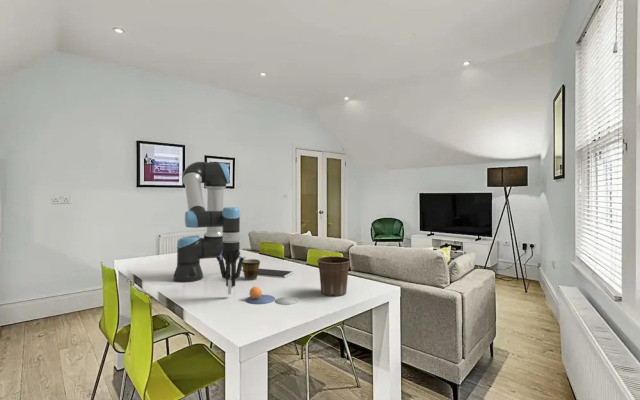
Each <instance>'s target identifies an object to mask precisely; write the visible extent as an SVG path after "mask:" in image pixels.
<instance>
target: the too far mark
mask: <svg viewBox="0 0 640 400" xmlns="http://www.w3.org/2000/svg"><path fill="white" fill-rule="evenodd" d="M274 302H275V303H276V304H278V305H285V306H286V305H287V306H288V305H293V304H297V303H298V302H299V299H298V298H296V297H292V296H283V297H279V298H275V300H274Z"/></svg>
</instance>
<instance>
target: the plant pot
mask: <svg viewBox="0 0 640 400" xmlns="http://www.w3.org/2000/svg"><path fill="white" fill-rule="evenodd" d="M316 261H317V266H318V272H319V280H320V282H319V283H320V292H321V294H322V295H324V296H327V297H331V296H334V297H341V295H342V296H345V295H346V294H347V290H348V278H349V269H350V264H351V258H349V257H345V256H335V255H334V256H332V255H331V256H322V257H321V256H320V257H318V258H316Z"/></svg>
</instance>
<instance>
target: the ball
mask: <svg viewBox="0 0 640 400" xmlns="http://www.w3.org/2000/svg"><path fill="white" fill-rule="evenodd" d="M248 295H249V297H251V298H252V299H259V298H260V297H261V295H263V291H262V288H261V287H259V286H253V287H251V288H250V290H249V294H248Z"/></svg>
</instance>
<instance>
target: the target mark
mask: <svg viewBox="0 0 640 400" xmlns="http://www.w3.org/2000/svg"><path fill="white" fill-rule="evenodd" d="M275 300H276V297H275V296H273V295H271V294H262V295H261V297H260V298H259V299H252V298H251V297H250V296H247V297H246V298H245V302H246V303H248V304H253V305H265V304H270V303H272V302H275Z"/></svg>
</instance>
